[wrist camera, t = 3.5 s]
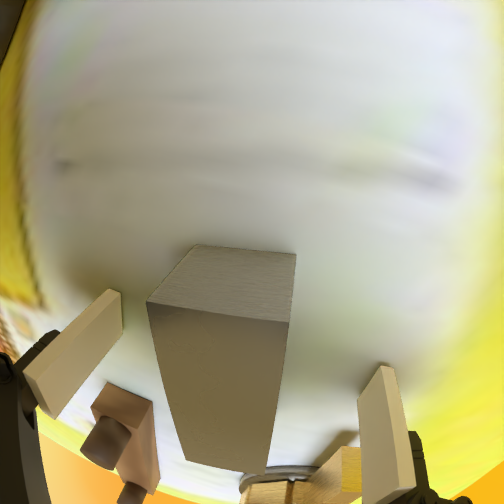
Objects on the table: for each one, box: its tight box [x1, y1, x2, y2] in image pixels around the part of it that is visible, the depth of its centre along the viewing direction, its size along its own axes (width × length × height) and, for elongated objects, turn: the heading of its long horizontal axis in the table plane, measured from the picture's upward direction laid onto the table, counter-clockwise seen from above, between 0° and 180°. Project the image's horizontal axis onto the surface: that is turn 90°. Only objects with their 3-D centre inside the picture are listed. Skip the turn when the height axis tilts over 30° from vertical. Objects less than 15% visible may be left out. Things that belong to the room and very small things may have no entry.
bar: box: [146, 244, 296, 476], centre depth 12 cm, size 10×4×4 cm, turn 178°
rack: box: [80, 382, 160, 504], centre depth 18 cm, size 4×17×6 cm, turn 168°
